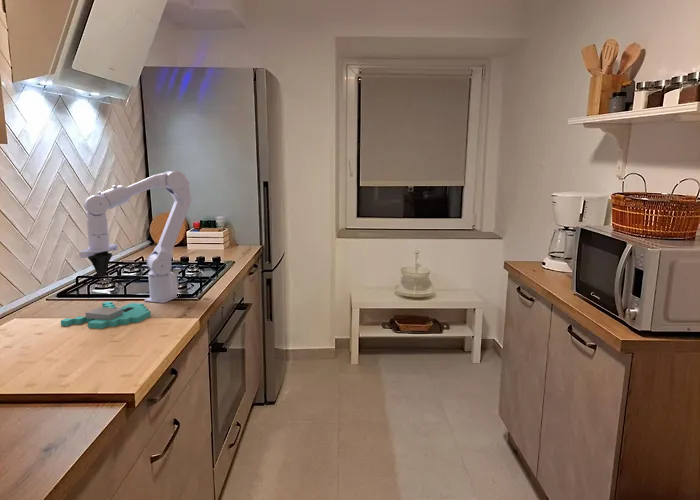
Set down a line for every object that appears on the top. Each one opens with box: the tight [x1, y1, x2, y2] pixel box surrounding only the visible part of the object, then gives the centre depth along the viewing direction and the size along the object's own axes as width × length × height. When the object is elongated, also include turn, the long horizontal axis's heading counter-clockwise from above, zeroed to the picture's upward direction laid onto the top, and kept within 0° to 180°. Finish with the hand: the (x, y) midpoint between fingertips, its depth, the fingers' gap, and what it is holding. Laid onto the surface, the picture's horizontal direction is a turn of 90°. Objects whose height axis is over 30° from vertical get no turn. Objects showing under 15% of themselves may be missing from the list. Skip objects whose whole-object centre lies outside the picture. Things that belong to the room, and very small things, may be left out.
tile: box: [84, 306, 123, 320], centre depth 148 cm, size 2×8×6 cm
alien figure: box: [60, 301, 152, 330], centre depth 152 cm, size 20×2×20 cm
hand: (101, 276), depth 160 cm, fingers closed
